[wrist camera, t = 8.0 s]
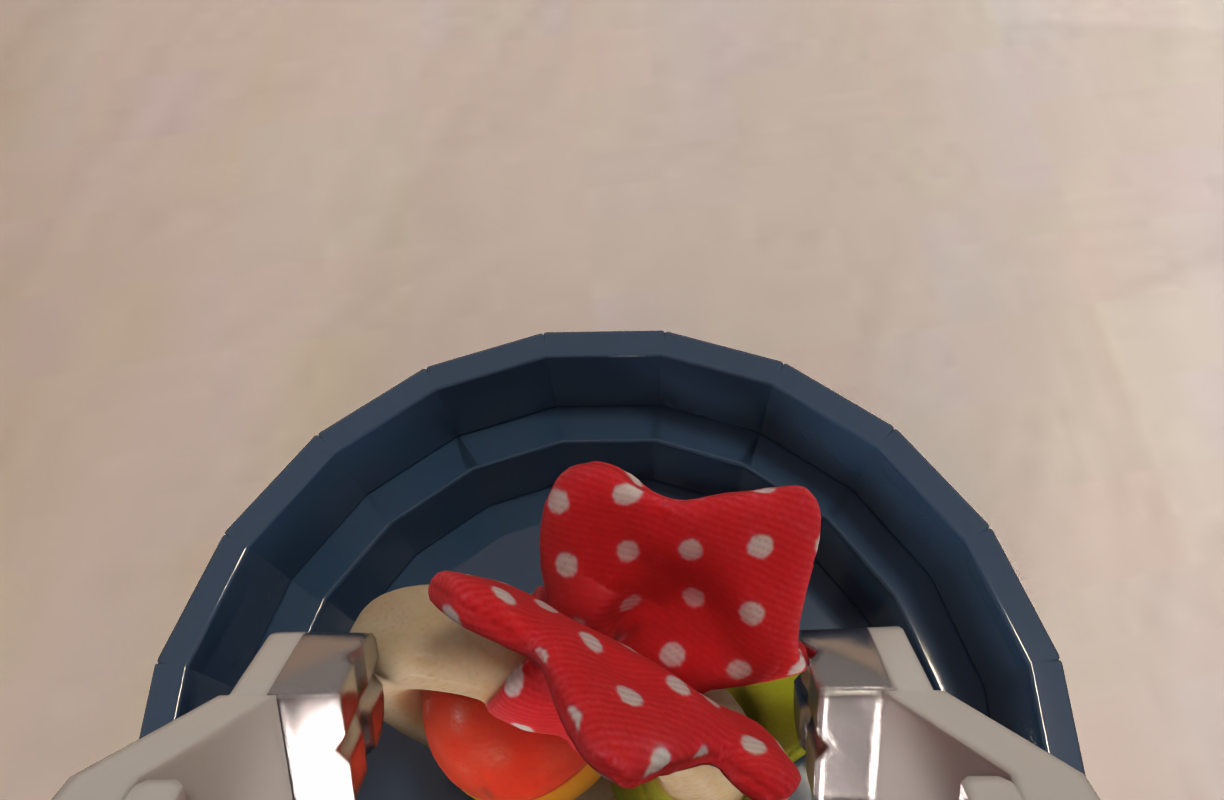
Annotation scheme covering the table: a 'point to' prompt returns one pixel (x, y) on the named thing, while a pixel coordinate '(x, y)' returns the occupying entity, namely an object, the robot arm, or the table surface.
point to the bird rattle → (614, 650)
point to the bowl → (662, 461)
